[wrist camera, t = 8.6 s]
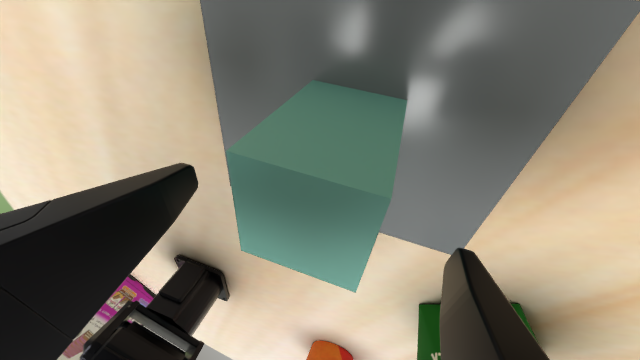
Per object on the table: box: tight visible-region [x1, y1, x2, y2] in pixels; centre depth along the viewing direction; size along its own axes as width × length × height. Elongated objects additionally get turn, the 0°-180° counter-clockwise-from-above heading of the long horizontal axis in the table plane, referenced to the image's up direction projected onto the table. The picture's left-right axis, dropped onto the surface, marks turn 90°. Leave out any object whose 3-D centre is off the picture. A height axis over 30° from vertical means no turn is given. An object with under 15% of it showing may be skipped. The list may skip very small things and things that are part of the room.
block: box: [226, 80, 407, 293], centre depth 11 cm, size 4×4×7 cm
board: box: [200, 0, 640, 255], centre depth 14 cm, size 13×16×1 cm
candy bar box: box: [57, 275, 156, 360], centre depth 38 cm, size 11×5×16 cm, turn 32°
